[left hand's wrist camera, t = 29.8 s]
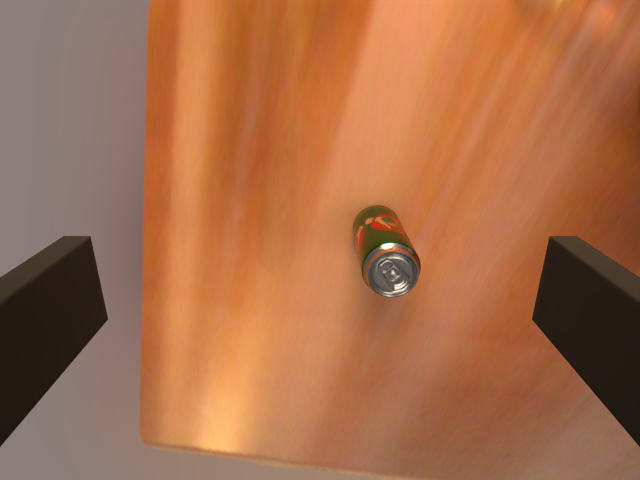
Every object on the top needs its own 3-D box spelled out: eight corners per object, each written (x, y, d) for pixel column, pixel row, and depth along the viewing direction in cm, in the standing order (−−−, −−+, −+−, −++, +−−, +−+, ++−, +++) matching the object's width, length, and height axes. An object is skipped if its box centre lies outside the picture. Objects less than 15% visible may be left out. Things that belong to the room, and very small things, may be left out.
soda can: (371, 255, 48) (387, 311, 37) (343, 223, 47) (350, 271, 36) (408, 228, 47) (435, 278, 36) (380, 194, 46) (399, 235, 35)
